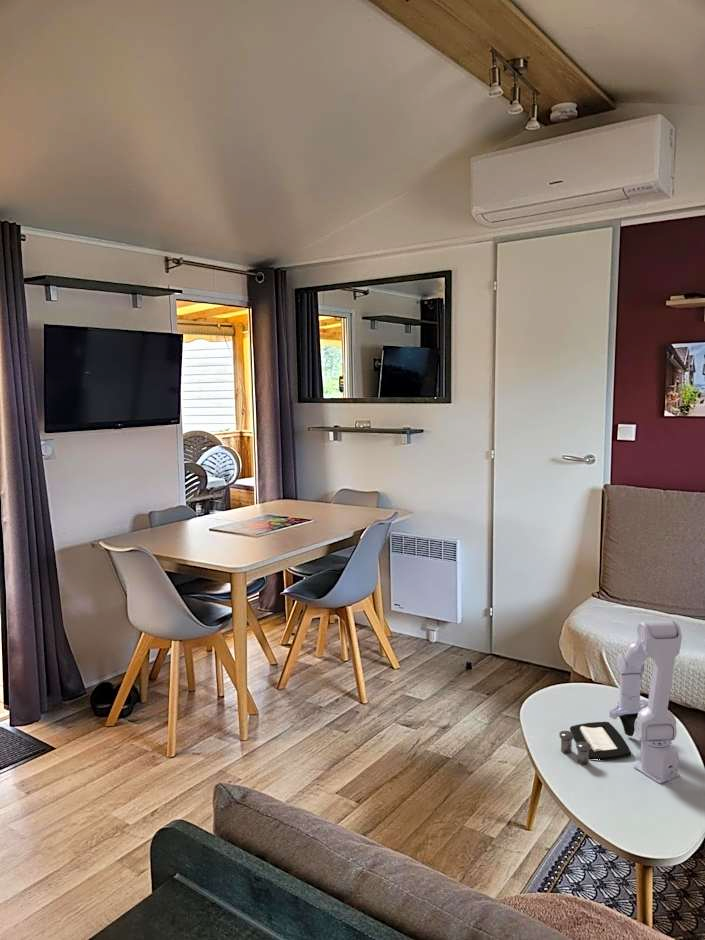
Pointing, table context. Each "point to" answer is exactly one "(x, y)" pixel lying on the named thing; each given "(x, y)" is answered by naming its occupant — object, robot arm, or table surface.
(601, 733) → the light switch
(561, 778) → the table surface
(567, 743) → the metal bosses
